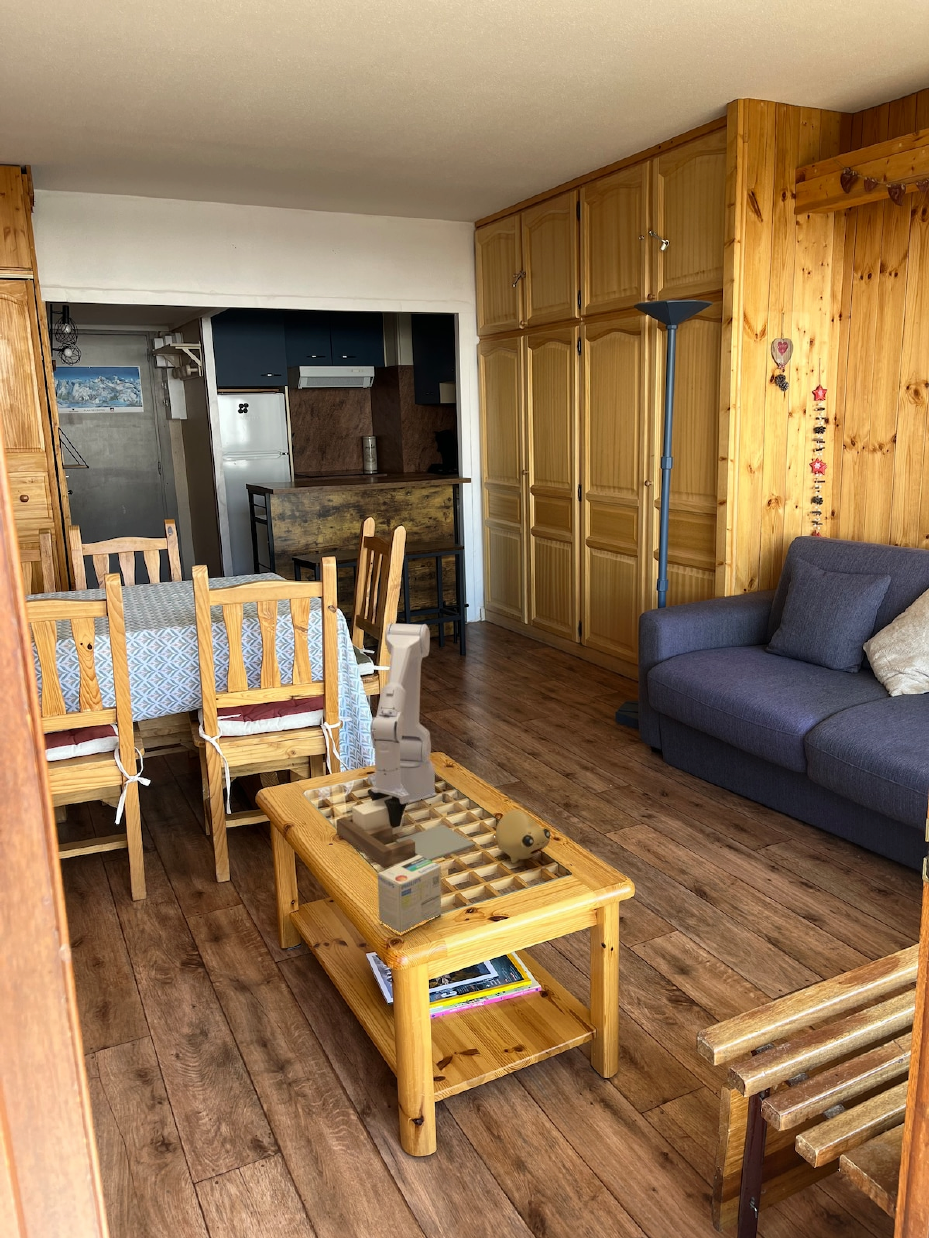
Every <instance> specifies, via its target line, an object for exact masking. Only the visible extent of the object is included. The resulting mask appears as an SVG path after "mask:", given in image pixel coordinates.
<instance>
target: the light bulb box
mask: <svg viewBox="0 0 929 1238" xmlns="http://www.w3.org/2000/svg"><path fill="white" fill-rule="evenodd" d="M441 867H442V865H440V864H439V863H436V862H434V861H433V860H432V861H430V860H428V859H426V858H424V857H422V856H420V855H415V856H414V857H412V858H410V859H408V860H405V861H402V862H399V863H397V864H394V866H393V865H392V866H391V867H388V868H387V869H385V870H382V871H380V872H377V889H378V890H377V892H378V893H377V894H378V897H377V899H378V918H379V919H378V921H379V920H380V921H382V923H384V924H386V925H388V926H389V927H391V928H392V929H394V930H396V931H398V932H400V933H401V932H403V931H406V930H408V929H410V928H411V927H414V926H415V925H416V924H419V923H421V922H422V921H424V920H429V919H431V918H433V917H436V916H438V915H441V916H442V879H441V878H442V874H441V873H442V868H441Z"/></svg>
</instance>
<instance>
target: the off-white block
mask: <svg viewBox="0 0 929 1238" xmlns="http://www.w3.org/2000/svg"><path fill="white" fill-rule="evenodd" d="M390 798H392V796H391V795H390V796H388V797H385V798H381V799H378V800H375V801H372V800H371V801H368V802H365V803H361V804H357V805H354V806H352V807H351V808H352V809H351V810H352V815H353V824H355V825H356V826H358V827H359V828H361V829H362V830H363V831H367V830H370V829H374V828H377V827H380V826H383V825H386V824H388V825H390V821H389V813H388V809H387V807H386V804H385V803H384V800H387V799H390ZM399 833H403V818H402V819H401V823H400V826H399V827H395V828H393V835H396V834H399Z"/></svg>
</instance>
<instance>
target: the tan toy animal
mask: <svg viewBox="0 0 929 1238" xmlns="http://www.w3.org/2000/svg"><path fill="white" fill-rule="evenodd" d="M495 836H496V840H497V841H496V842H497V843H498V844H497V848H498V849H499V850H500V851H501V850H502V852H503V853H504V854H506V855H507V856H508V857H510V861H511V863H513V862H516V861H517V862H518V861H519V860H528V859H531V858H533V856H534V855H535V854H536V855H537V854H538V853H539V852H540V851H542V850H544V849H545V848H546V847H547V846H548V845H549V844H550V840H551V832H550V830H549V829H548V828H545V827H544V828H542V827H541V826H540V825H539V824H538V823H537V822H536V821H535V820H534V819H533V818H532V817H531V816H530V815H529V814H528V813H526V812H525V811H524V810H522V809H519V808H518V809H517V808H516V809H512V810H510V811H508V812H506V813H505V814H504V815H503V816H502V817H501V818H500V820H499V821H498V823H497V825H496V830H495ZM536 855H535V856H536ZM535 856H534V857H535ZM517 862H516V863H517Z"/></svg>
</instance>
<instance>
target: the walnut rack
mask: <svg viewBox="0 0 929 1238" xmlns="http://www.w3.org/2000/svg"><path fill="white" fill-rule="evenodd" d="M336 835H338V836H339V835H340V837H341V838H342V839H343V838H344V839H343V840H345V841H346V842H347V843H349V844H350V845H352V846H353V847H355V848H356V849H357V850H359V851H360V852H362V853H363V854H364V855H365V856H367V857H369V858H370V859H371V860H373V861H374V862H375V863H377V864H378V865H380V866H381V867H382V868H387V867H390V866H393V865H397V864H400V863H402V862H404V861H406V860H408V859H410V858H412V857H414V856H416V855H415V842H414V841H413V840H411V839H407V840H404V841H401V842H398V843H397V842H395V843H393V841H394V837H393V827H391V826H390V825H388V824H386V825H383V826H380V827H377V828H374V829H370V830H367V831H363V830H362V829H361V828H359V827H358V826H356V825H355V824H353V814H351V815H347V816H343V817H340V818H337V819H336ZM390 843H392V844H390ZM387 844H390V845H387Z"/></svg>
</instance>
